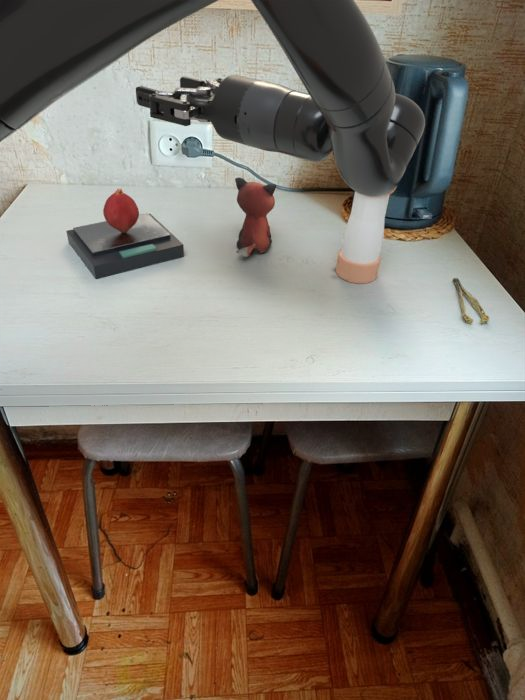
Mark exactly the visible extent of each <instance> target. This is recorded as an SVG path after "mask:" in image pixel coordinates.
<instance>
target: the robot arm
mask: <svg viewBox="0 0 525 700" xmlns="http://www.w3.org/2000/svg"><path fill="white" fill-rule="evenodd" d="M218 1H219V0H0V143H2V142H3V141H4V140H6V139H7V138H8V137H10V136H12V135H13V134H15V133H16V132H17V131H18V130H20V129H22V128H23V127H25V126H26V125H27V124H28V123H30V122H31V121H32V120H33V119H35V118H36V117H37V116H38V115H40V114H42V112H43V111H46V109H47V108H49V107H51V105H53V104H55V102H58V101H59V100H60V99H62V98H63V97H65V96H66V95H68V94H69V93H71V92H72V91H74V90H76V89H77V88H78V87H80V86H81V85H83V84H85V83H86V82H87V81H89V80H90V79H92V78H94V77H95V76H97V75H98V74H99V73H101V72H102V71H104V70H105V69H107V68H108V67H110V66H111V65H113V64H114V63H115V62H117V61H119V60H120V59H122V58H123V57H124V56H126V55H127V54H128V53H130V52H131V51H133V50H135V49H136V48H137V47H139V46H140V45H141V44H143V43H145V42H146V41H148V40H149V39H151V38H152V37H154V36H156V35H158V34H159V33H160V32H162V31H164V30H166V29H167V28H169V27H171V26H173V25H175V24H176V23H178V22H180V21H182V20H184V19H186V18H188V17H190V16H191V15H193V14H195V13H197V12H199V11H201V10H202V9H205V8H206V7H208V6H211V5H212V4H214V3H216V2H218ZM250 1H251V3H252V5H253V6H254V8H255V9H256V10H257V11H258V13H259V14H260V16H261V17H262V19H263V20H264V22H265V23H266V25H267V27H268V28H269V30H270V31H271V33H272V35H273V36H274V38H275V40H276V41H277V43H278V44H279V46H280V48H281V49H282V51H283V53H284V54H285V56H286V58H287V60H288V61H289V63H290V65H291V66H292V68H293V70H294V71H295V73H296V75H297V76H298V78H299V80H300V82H301V84H302V85H303V86H304V88H305V90H306V92H305V91H300V90H296V89H293V88H291V87H287V86H285V85H283V84H279V83H275V82H270V81H266V80H261V79H257V78H252V77H249V76H248V77H247V76H243V75H240V74H231V75H228V76H226V77H225V78H222V77H217V78H215V80H211V79H210V78H206V79H198V78H193V77H189V76H181V77H180V78H179V87H175V89H174V90H173V91H167V90H159V89H154V88H151V87H146V86H144V85H140V86H136V87H135V98H136V99H135V100H136V103H137V105H138V106H139V107H144V108H148V109H149V117H150V118H153V119H156V120H159V121H164V122H168V123H172V124H175V125H179V126H183V127H189V126H192V122H191V120H192V121H197V122H198V123H211V125H212V127H213V129H214V131H215V132H216V134H217V135H218V136H219V137H220V138H222V139H223V140H226V141H231V142H234V143H237V144H241V145H244V146H247V147H251V148H255V149H257V150H261V151H265V152H271V153H279V154H284V155H287V156H290V157H294V158H297V159H301V160H304V161H308V162H313V163H321V162H324V161H326V160H327V159H329V157H330V156H331V155H332V156H333V160H334V163H335V166H336V169H337V171H338V173H339V176H340V177H341V179H342V180H343V181H344V182H345V184H346V185H347V186H348V187H349V188H350V189H352V190H353V191H354V192H355V191H356V192H357V193H359V194H361V195H364V196H368V197H380V196H383V195H386V194H388V193H390V192H391V191H393V190H394V189H395V188H396V189H397V187H398V186H399V184H400V182H401V180H402V179H403V177H404V174H405V173H406V170H407V169H408V166H409V164H410V162H411V160H412V157H413V155H414V153H415V151H416V149H417V146H418V145H419V143H420V140H421V138H422V136H423V134H424V131H425V128H426V117H425V114H424V112H423V110H422V108H421V107H420V106H419V105H418V104H417V103H416V102H415V101H414V100H412V99H411V98H409V97H407V96H405V95H402V94H399V93H396V88H395V83H394V80H393V77H392V74H391V72H390V69H389V66H388V64H387V61H386V59H385V55H384V54H383V51H382V47H380V44H379V42H378V39H377V36H376V35H375V33H374V31H373V29H372V27H371V25H370V24H369V22H368V19H367V18H366V17H365V15H364V13H363V12H362V10H361V9H360V7H359V6H358V4H357V3H356V1H355V0H250ZM182 96H186V97H185V98H186V99H182ZM396 189H395V190H396Z"/></svg>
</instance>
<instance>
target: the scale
mask: <svg viewBox="0 0 525 700" xmlns="http://www.w3.org/2000/svg"><path fill="white" fill-rule="evenodd" d="M66 236H67V242H68V244H69V245H70V247H71V248H72V250H74V252H75V253H76V255H77V256H78V257H79V259H80V260H81V261H82V263H83V264H84V265H85V266H86V268H87V269H88V271H89V272H90V273H91V275H92V276H93V277H94V278H95V279H96V280H97V279H102V278H105V277H109V276H113V275H117V274H122V273H125V272H129V271H133V270H137V269H140V268H145V267H148V266H152V265H157V264H161V263H165V262H169V261H172V260H176V259H180V258H184V257H185V247H184V246H185V245H184V243H183V242H182V241H180V240H179V238H178V237H176V236H175V235H174V234H173V233H172V232H171V231H170V230H169V229H168V228H166V227H165V226H164V225H163V224H162V223H161V222H160V221H159V220H158V219H156V218H155V216H154V215H153V214H151V213H148V212H144V213H139V218H138V220H137V222H136V224H135V225H134V226H133V227H132V228H131V229H129V230H128V232H126V233H121V232H120V231H118V230H116V229H115V228H113V227H111V226H110V225H109V224H108V223H107V221H106V220H105V221H99V222H94V223H89V224H86V225H80V226H75V227H73V228H72V229H68V230H66Z"/></svg>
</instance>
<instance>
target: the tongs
mask: <svg viewBox="0 0 525 700" xmlns="http://www.w3.org/2000/svg"><path fill="white" fill-rule="evenodd" d="M452 282H454V285H455V286H456V289H457V292H458V297H459V306H460V308H461V312H462V313H461V315H462V318H463V319H464V320H465V323H466V324H472V323H473V322H474V319H473V318H472V317H469V315H467V314H466V311H467V310H466V309H467V308H466V305H465V299H464V298H463V295H464V296H465V297H466V298H467V299H468V300H469V301H470V303H471V306H472V308H473V309H475V311H477V312H478V314H479V315H480V318H481V321H480V322H481V324H482V325H484V324H486V323H487V322H489V321H490V316H489V315H487V314H486V313H485V310H484V307H482V305H481V304H480V302H479V300H478V299H477V298H476V297H475V296H474V295H472V294H471V293H470V292H468V290H466V288H464V286H463V285H462V282H461V281H460V279H459V278H457V277H454V278H453V279H452Z"/></svg>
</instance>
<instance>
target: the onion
mask: <svg viewBox="0 0 525 700" xmlns="http://www.w3.org/2000/svg"><path fill="white" fill-rule="evenodd" d="M102 213H103V214H102V215H103V217H104V219H105V221H107V223H108V224H109V225H110V226H111V227H113V228H115V229H116V230H118V231H120V232H121V233H126V232H128V230H129V229H131V228H132V227H133V226H134V225H135V224H136V222H137V220H138V218H139V214H140V211H139V207H138V205H137V202H136V201H135V200H134V199H133V198H132V197H131V196H130V195H128V194H126V193H125V192H124V191H123V189H122V188H120V187H119V188H117V189H116V190H115V191H114V193H112V194H110V196H108V198H107V199H106V200H105V203H104V206H103V210H102Z"/></svg>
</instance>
